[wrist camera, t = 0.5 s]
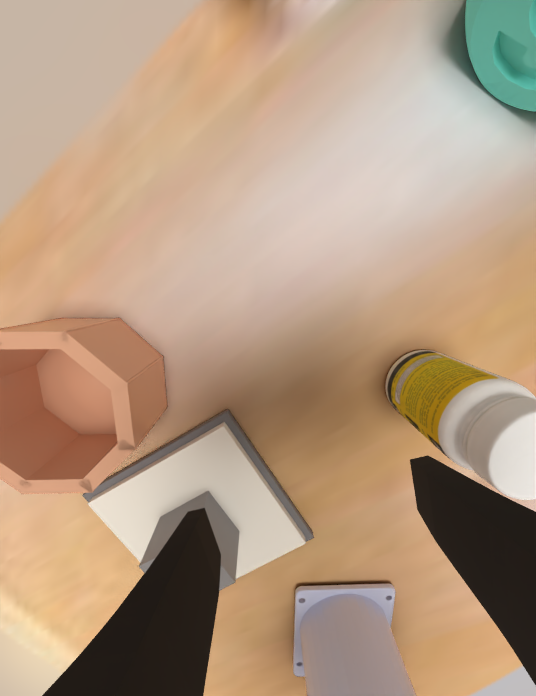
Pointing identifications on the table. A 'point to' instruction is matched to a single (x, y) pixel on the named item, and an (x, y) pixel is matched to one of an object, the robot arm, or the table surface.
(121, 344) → the bowl
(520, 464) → the supplement bottle
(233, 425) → the mat
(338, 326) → the table surface
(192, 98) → the table surface
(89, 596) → the table surface
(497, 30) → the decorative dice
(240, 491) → the lid
